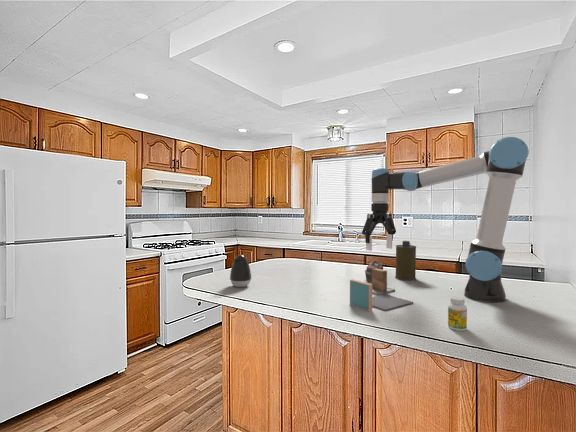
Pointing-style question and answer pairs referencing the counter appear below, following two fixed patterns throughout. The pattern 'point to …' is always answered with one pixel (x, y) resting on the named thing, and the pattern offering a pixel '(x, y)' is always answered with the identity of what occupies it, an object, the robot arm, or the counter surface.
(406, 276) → the canister
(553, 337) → the counter surface
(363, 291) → the tile
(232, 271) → the black grey egg shape
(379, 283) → the wooden block on base
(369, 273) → the cupcake
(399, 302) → the mat
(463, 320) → the supplement bottle
